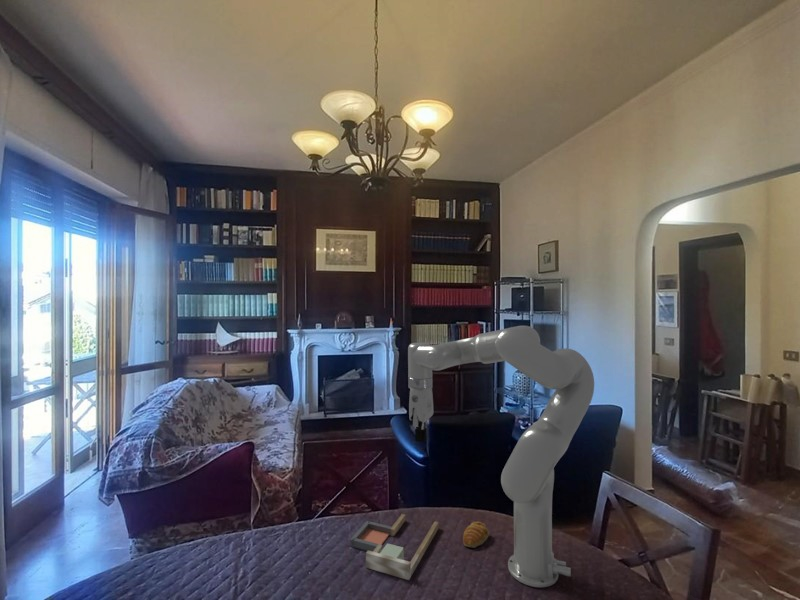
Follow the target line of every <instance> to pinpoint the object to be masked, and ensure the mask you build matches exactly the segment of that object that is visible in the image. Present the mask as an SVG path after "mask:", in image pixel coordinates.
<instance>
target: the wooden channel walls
mask: <svg viewBox="0 0 800 600" xmlns="http://www.w3.org/2000/svg"><path fill="white" fill-rule="evenodd" d="M405 522H406V514H404V513H401V515H400V516H399V517H398V518H397V520H396V521H395V522H394V523H393V524H392V526H391V529H390V535H389V536H391V537H395V536H396V534H397V533H398V532H399V530H400V529H401V527H402V526H403V525H404V523H405ZM439 527H440V526H439V521H434V522H433V524H432V525H431V527H430V528H429V530H428V532H427V533H426V535H425V537H424V538H423V541H422V542H421V544H420V545H419V546H418V548H417V550H416V551H415V554H414V555H413V557H412V559H411V560H410V561H408V560H405V559H404V560H402V559H398V558H394V557H391V556H387V555H383V554H380V552H381V551H382V550H383V544H382V545H380V544H378V545H377V547H376V548H375V549H374V551H373V552H372V551H369V550H368V551H366V552H365V568H366V569H370V570H373V571H376V572H380V573H384V574H387V575H389V576H392V577H396V578H400V579H403V580H407V581H410V580H411V577H412V576H413V574H414V572H415V571H416V569H417V568H418V565H419V564H420V562H421V560H422V559H423V557H424V555H425V553H426V552H427V550H428V548H429V546H430V544H431V542H432V540H433V539H434V538H435V536H436V534H437V532H438V531H439Z"/></svg>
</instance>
